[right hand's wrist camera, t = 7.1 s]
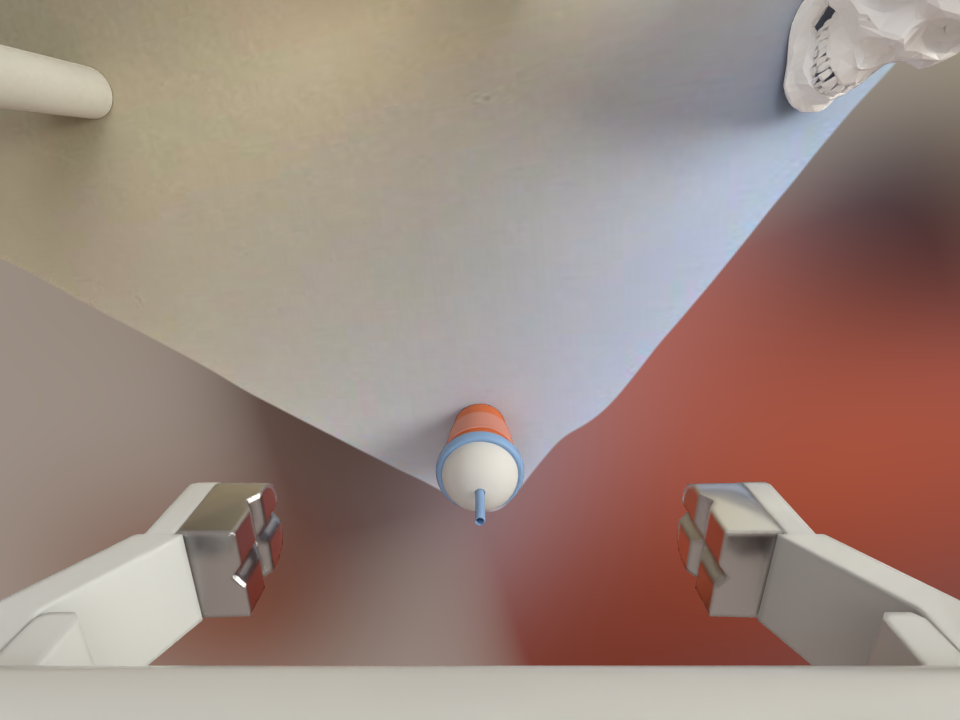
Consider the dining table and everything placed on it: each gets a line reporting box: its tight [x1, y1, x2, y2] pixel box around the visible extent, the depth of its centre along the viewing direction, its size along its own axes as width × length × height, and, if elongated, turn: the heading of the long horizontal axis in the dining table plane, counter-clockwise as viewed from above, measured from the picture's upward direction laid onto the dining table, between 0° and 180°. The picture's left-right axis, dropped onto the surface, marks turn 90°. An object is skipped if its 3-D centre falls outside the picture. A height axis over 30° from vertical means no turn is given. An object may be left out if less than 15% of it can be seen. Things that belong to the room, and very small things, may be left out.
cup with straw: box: [436, 404, 524, 525], centre depth 55 cm, size 9×9×18 cm
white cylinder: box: [0, 45, 113, 119], centre depth 42 cm, size 5×5×20 cm
